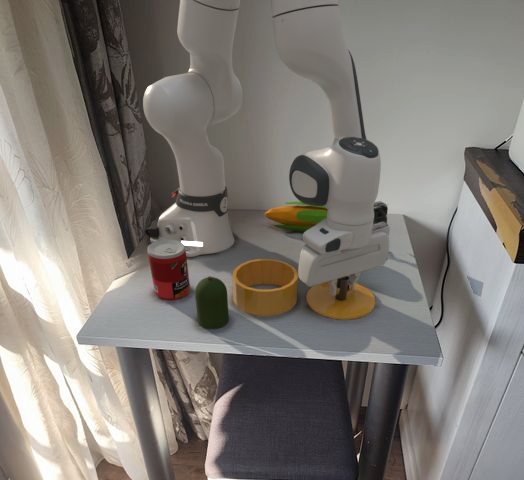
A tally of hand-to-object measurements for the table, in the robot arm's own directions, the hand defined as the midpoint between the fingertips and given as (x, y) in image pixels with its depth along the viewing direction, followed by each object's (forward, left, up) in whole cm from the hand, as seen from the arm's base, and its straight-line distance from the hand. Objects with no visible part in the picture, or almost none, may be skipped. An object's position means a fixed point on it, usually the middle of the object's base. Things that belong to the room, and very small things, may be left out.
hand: (341, 291), depth 98 cm
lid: (0, 0, -2) cm, 2 cm away
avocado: (-21, -18, -3) cm, 28 cm away
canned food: (-35, -12, -3) cm, 37 cm away
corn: (-22, +31, -3) cm, 38 cm away
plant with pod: (-3, +28, -3) cm, 28 cm away
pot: (-15, -6, -3) cm, 16 cm away
